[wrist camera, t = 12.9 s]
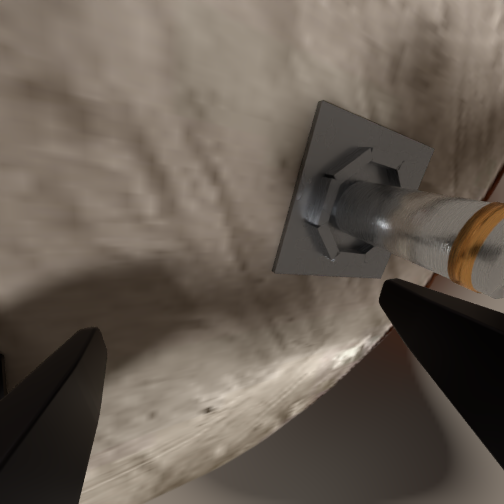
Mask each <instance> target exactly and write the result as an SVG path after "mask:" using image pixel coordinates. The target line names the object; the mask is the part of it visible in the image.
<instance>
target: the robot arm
mask: <svg viewBox="0 0 504 504" xmlns="http://www.w3.org/2000/svg"><path fill="white" fill-rule="evenodd" d="M379 304H380V306H381V308H382V309H383V311H384V312H385V314H386V315H387V317H388V318H389V320H390V321H391V323H392V325H393V326H394V328H395V329H396V331H397V332H398V334H399V335H400V337H401V338H402V340H403V341H404V343H405V344H406V345H407V347H408V348H409V349H410V351H411V352H412V353H413V355H414V356H415V357H416V358H417V360H418V361H419V362H420V364H421V365H422V366H423V367H424V369H425V370H426V371H427V372H428V374H429V375H430V376H431V378H432V379H433V380H434V381H435V382H436V384H437V385H438V387H439V388H440V389H441V390H442V391H443V393H444V394H445V396H446V397H447V398H448V399H449V401H450V402H451V403H452V404H453V406H454V407H455V408H456V409H457V411H458V412H459V413H460V415H461V416H462V417H463V419H465V421H466V422H467V424H468V425H469V426H470V427H471V429H472V430H473V431H474V433H475V434H476V435H477V436H478V437H479V439H480V440H481V442H482V443H483V444H484V445H485V447H486V448H487V449H488V451H489V452H490V453H491V454H492V456H493V457H494V458H495V459H496V461H497V462H498V463H499V464H500V466H501V467H502V468H503V470H504V314H503V313H501V312H498V311H494V310H492V309H489V308H486V307H483V306H480V305H477V304H474V303H471V302H468V301H465V300H462V299H459V298H455V297H452V296H449V295H446V294H443V293H440V292H437V291H434V290H431V289H428V288H425V287H422V286H419V285H416V284H413V283H410V282H407V281H404V280H401V279H397V278H395V279H389V280H386V281H385V282H384V284H383V287H382V290H381V294H380V297H379ZM106 361H107V349H106V346H105V343H104V340H103V337H102V334H101V331H100V329H99V328H98V327H90V328H84V329H80V330H79V331H77V332H76V333H75V334H74V335H73V336H72V337H71V338H70V339H68V340H67V341H66V342H65V343H64V344H63V345H62V346H61V347H60V348H58V349H57V350H56V351H55V352H54V353H53V354H52V355H51V356H49V357H48V358H47V359H46V360H45V361H44V362H43V363H42V364H40V365H39V366H38V367H37V368H36V369H35V370H34V371H33V372H32V373H30V374H29V375H28V376H27V377H26V378H25V379H24V380H23V381H21V382H20V383H19V384H18V385H17V386H16V387H15V388H14V389H13V390H11V391H10V392H9V393H8V394H7V390H6V376H5V362H4V356H3V355H2V354H0V504H79V499H80V495H81V491H82V487H83V483H84V479H85V475H86V470H87V466H88V462H89V458H90V454H91V450H92V445H93V441H94V437H95V433H96V429H97V425H98V420H99V415H100V409H101V402H102V394H103V386H104V377H105V369H106Z"/></svg>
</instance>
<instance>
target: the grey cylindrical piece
mask: <svg viewBox="0 0 504 504" xmlns="http://www.w3.org/2000/svg"><path fill="white" fill-rule="evenodd" d="M335 216H336V223H337V225H338V227H339V229H340V230H341V231H342V232H344V233H346V234H348V235H350V236H353V237H355V238H357V239H360V240H362V241H364V242H366V243H369V244H371V245H373V246H376V247H378V248H380V249H382V250H385V251H387V252H389V253H392V254H394V255H396V256H398V257H401V258H403V259H405V260H408V261H410V262H412V263H415V264H417V265H419V266H421V267H424V268H426V269H428V270H431V271H433V272H435V273H437V274H440V275H442V276H444V277H447V278H449V279H451V281H453V282H454V283H456V284H458V285H461V286H463V287H465V288H468V289H470V290H472V291H474V292H477V293H483V294H485V295H488V296H490V297H492V298H495V299H499V298H503V297H504V203H500V202H493V203H489V202H483V201H477V200H472V199H466V198H460V197H454V196H448V195H443V194H437V193H431V192H425V191H419V190H414V189H408V188H402V187H396V186H390V185H384V184H379V183H373V182H367V181H359V182H356V183H354V184H352V185H351V186H349V187H348V188H347V189H346V190H345V191H344V193H343V194H342V196H341V197H340V199H339V201H338V204H337V207H336V214H335Z"/></svg>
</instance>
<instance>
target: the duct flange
mask: <svg viewBox="0 0 504 504" xmlns="http://www.w3.org/2000/svg"><path fill="white" fill-rule="evenodd" d="M433 152H434V148H431V147H429V146H427V145H424V144H422V143H420V142H417V141H415V140H413V139H411V138H408V137H406V136H404V135H401V134H399V133H397V132H394V131H392V130H390V129H387V128H385V127H383V126H380V125H378V124H376V123H374V122H371V121H369V120H367V119H364V118H362V117H360V116H357V115H355V114H353V113H350V112H348V111H346V110H343V109H341V108H339V107H337V106H334V105H332V104H330V103H327V102H325V101H319V102H318V105H317V109H316V113H315V116H314V120H313V123H312V127H311V131H310V134H309V138H308V142H307V145H306V149H305V153H304V156H303V160H302V164H301V167H300V171H299V174H298V178H297V182H296V185H295V189H294V193H293V196H292V200H291V204H290V207H289V211H288V215H287V218H286V222H285V225H284V229H283V233H282V236H281V240H280V244H279V247H278V251H277V255H276V258H275V262H274V266H273V269H272V271H273V272H274V273H278V274H299V275H319V276H339V277H360V278H380V279H381V277H382V274H383V272H384V269H385V267H386V265H387V262H388V260H389V257H390V255H391V253H389V252H387V251H385V250H382V249H380V248H378V247H376V246H373V245H371V244H369V243H366V242H364V241H362V240H360V239H357V238H355V237H353V236H350V235H348V234H346V233H344V232H342V231H341V230H340V229H339V227H338V225H337V223H336V216H335V214H336V207H337V204H338V201H339V199H340V197H341V196H342V194H343V193H344V191H345V190H346V189H347V188H348V187H349V186H351V185H352V184H354V183H356V182H359V181H367V182H373V183H379V184H384V185H390V186H396V187H402V188H408V189H414V190H418V188H419V185H420V183H421V180H422V178H423V176H424V173H425V171H426V168H427V166H428V164H429V161H430V159H431V156H432V154H433Z"/></svg>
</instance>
